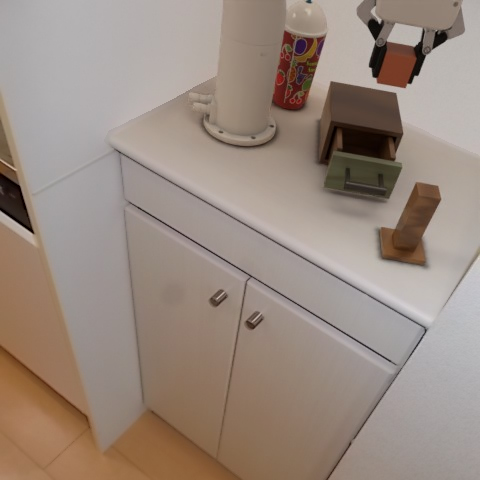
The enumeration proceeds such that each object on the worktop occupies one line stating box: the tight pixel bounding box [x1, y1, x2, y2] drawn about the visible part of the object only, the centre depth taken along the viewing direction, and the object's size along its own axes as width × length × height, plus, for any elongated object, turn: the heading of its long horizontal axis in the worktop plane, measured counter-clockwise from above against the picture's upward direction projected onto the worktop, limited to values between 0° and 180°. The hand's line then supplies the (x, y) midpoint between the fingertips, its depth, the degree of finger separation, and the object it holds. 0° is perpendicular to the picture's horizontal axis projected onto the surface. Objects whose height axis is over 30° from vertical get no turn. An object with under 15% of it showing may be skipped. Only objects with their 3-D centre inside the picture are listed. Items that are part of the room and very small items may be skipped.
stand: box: [379, 181, 442, 266], centre depth 72 cm, size 6×6×10 cm
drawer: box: [323, 126, 403, 200], centre depth 82 cm, size 17×10×6 cm, turn 174°
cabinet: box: [318, 80, 404, 165], centre depth 89 cm, size 14×12×8 cm
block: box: [375, 41, 417, 89], centre depth 71 cm, size 4×4×4 cm
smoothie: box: [272, 0, 329, 110], centre depth 92 cm, size 8×8×20 cm
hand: (391, 75), depth 72 cm, fingers closed on block, 4 cm apart
